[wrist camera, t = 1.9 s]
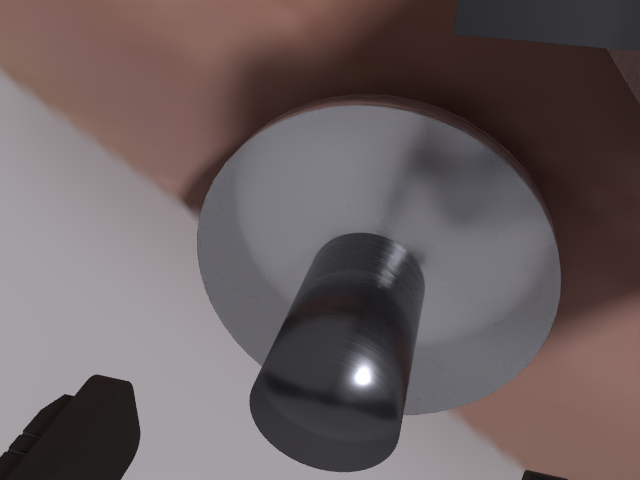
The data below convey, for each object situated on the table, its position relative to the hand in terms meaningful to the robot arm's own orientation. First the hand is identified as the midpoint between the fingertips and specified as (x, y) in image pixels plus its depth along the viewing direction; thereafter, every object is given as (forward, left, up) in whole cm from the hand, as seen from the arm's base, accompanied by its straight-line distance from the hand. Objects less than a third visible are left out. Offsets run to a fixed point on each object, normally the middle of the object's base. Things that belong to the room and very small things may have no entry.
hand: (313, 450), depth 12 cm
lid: (0, 0, -8) cm, 8 cm away
